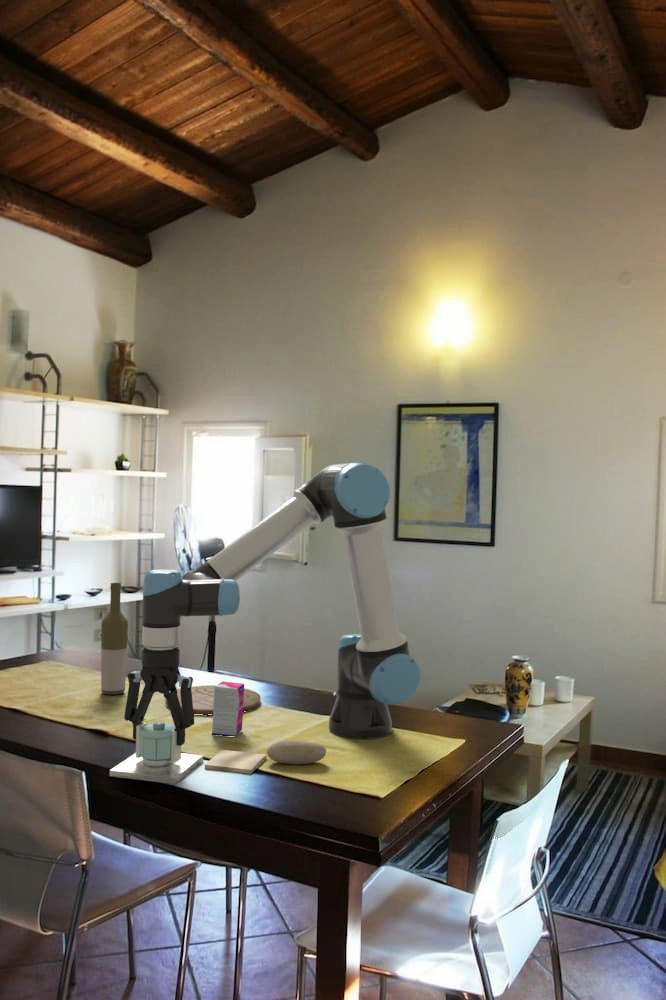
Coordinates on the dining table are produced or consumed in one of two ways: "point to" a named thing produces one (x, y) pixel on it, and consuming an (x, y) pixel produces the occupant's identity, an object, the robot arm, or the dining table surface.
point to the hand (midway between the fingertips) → (158, 757)
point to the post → (156, 768)
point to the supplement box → (228, 708)
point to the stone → (296, 752)
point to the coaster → (235, 761)
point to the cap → (156, 741)
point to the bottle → (114, 646)
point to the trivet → (205, 699)
